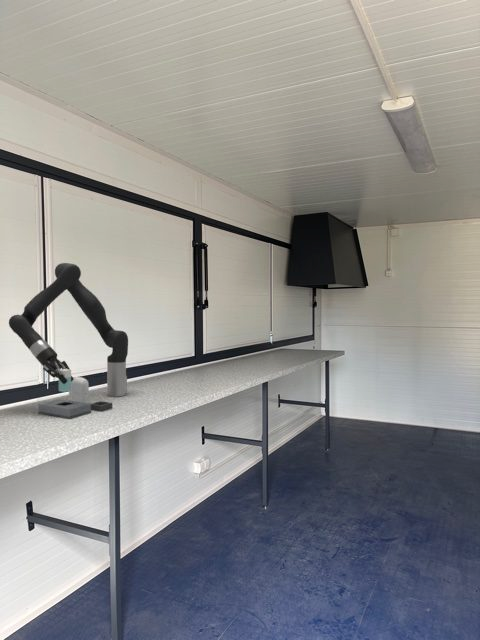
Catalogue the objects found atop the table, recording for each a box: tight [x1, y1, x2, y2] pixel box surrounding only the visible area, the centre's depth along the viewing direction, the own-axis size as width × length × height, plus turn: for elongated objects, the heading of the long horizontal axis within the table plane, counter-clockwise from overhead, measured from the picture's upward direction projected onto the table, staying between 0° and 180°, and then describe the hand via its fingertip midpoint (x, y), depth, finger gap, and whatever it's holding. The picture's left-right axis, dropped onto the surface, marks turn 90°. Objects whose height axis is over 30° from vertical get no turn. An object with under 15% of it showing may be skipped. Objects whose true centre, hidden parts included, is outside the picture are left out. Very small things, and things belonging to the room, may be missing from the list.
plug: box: [58, 368, 72, 393], centre depth 195 cm, size 4×4×9 cm
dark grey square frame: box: [91, 400, 113, 412], centre depth 204 cm, size 7×7×2 cm
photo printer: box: [68, 376, 90, 403], centre depth 214 cm, size 10×4×12 cm, turn 60°
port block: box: [37, 398, 92, 420], centre depth 195 cm, size 12×18×4 cm, turn 65°
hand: (68, 381), depth 195 cm, fingers closed on plug, 4 cm apart
